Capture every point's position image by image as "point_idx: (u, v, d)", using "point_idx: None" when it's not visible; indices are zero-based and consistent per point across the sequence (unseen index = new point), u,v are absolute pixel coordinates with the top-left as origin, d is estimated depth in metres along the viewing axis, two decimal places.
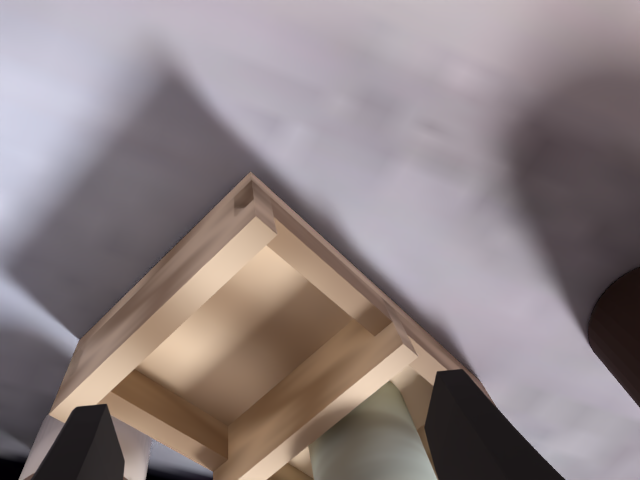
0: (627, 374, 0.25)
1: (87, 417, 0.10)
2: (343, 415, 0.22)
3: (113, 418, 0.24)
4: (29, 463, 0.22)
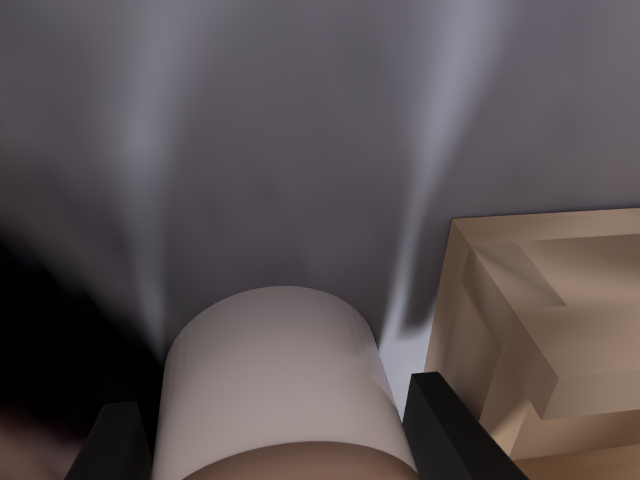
0: None
1: (118, 414, 0.10)
2: None
3: None
4: (285, 396, 0.09)
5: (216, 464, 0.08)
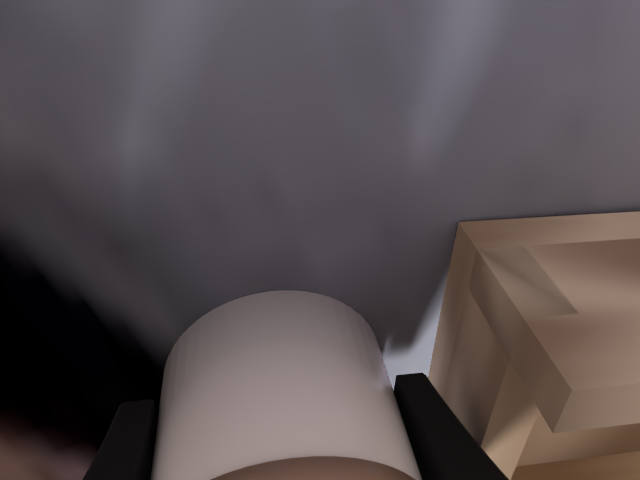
0: None
1: (135, 412, 0.10)
2: None
3: None
4: (287, 408, 0.09)
5: None
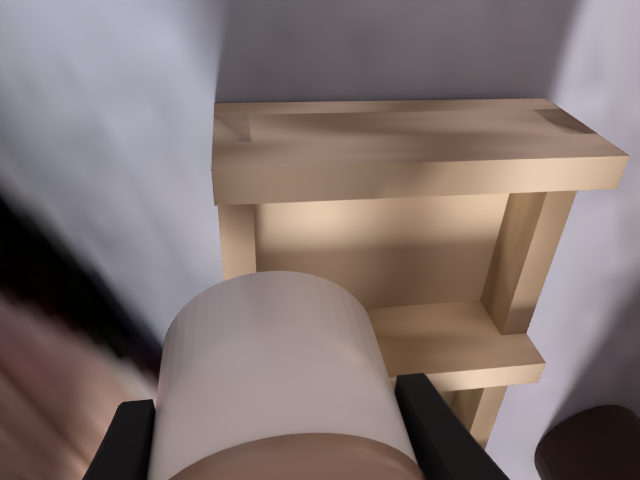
0: None
1: (135, 412, 0.10)
2: None
3: (386, 370, 0.12)
4: (283, 388, 0.09)
5: (212, 456, 0.08)
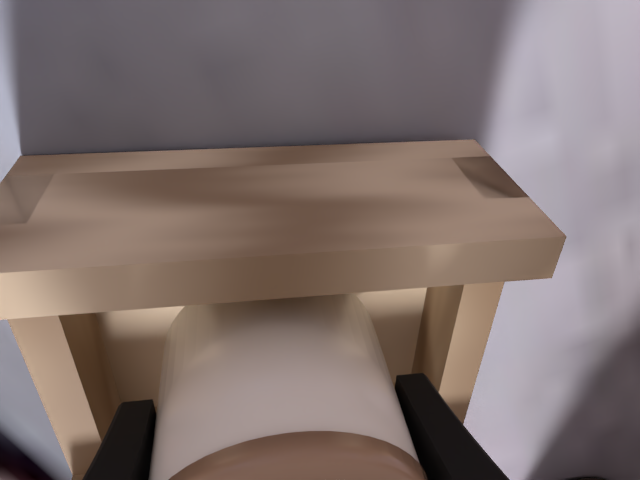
0: None
1: (135, 412, 0.10)
2: None
3: None
4: (284, 386, 0.09)
5: (214, 455, 0.08)
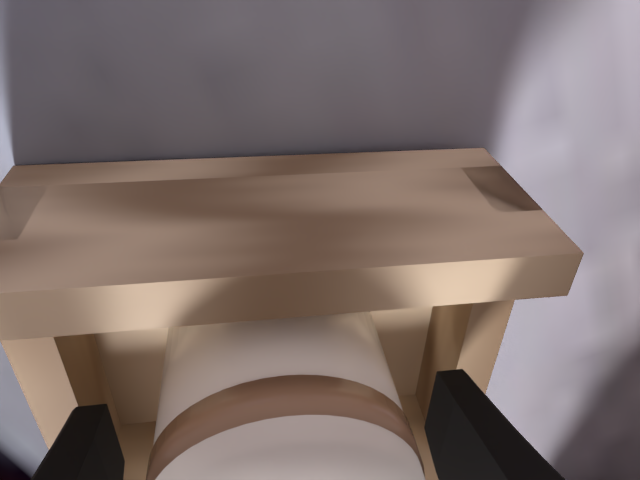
0: None
1: (86, 417, 0.10)
2: None
3: (377, 333, 0.13)
4: (279, 338, 0.10)
5: (215, 395, 0.09)
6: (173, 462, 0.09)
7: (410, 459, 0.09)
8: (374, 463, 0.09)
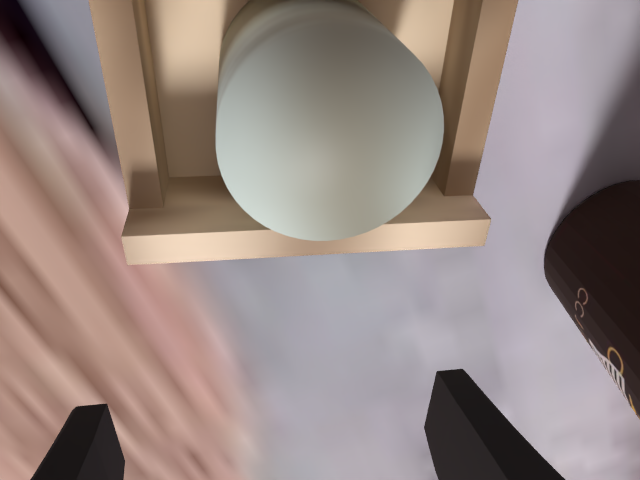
0: (617, 258, 0.19)
1: (87, 417, 0.10)
2: None
3: None
4: None
5: None
6: None
7: None
8: None
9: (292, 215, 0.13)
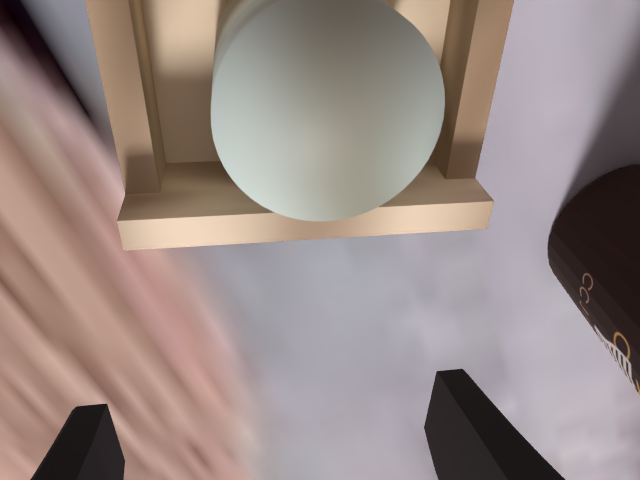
0: (623, 242, 0.19)
1: (87, 417, 0.10)
2: None
3: None
4: None
5: None
6: None
7: None
8: None
9: (290, 194, 0.12)
